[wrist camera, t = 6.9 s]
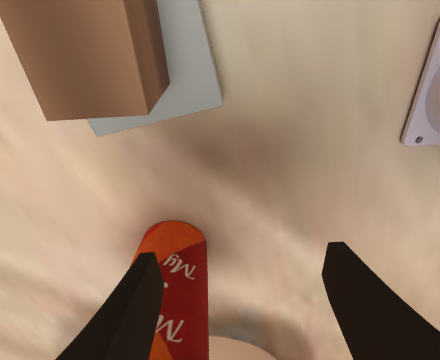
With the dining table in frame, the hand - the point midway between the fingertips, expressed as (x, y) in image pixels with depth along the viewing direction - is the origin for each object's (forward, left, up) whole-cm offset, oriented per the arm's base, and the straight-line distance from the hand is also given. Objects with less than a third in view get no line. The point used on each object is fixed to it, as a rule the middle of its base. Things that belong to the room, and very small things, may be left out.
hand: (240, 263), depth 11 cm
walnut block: (+5, -8, -7) cm, 12 cm away
